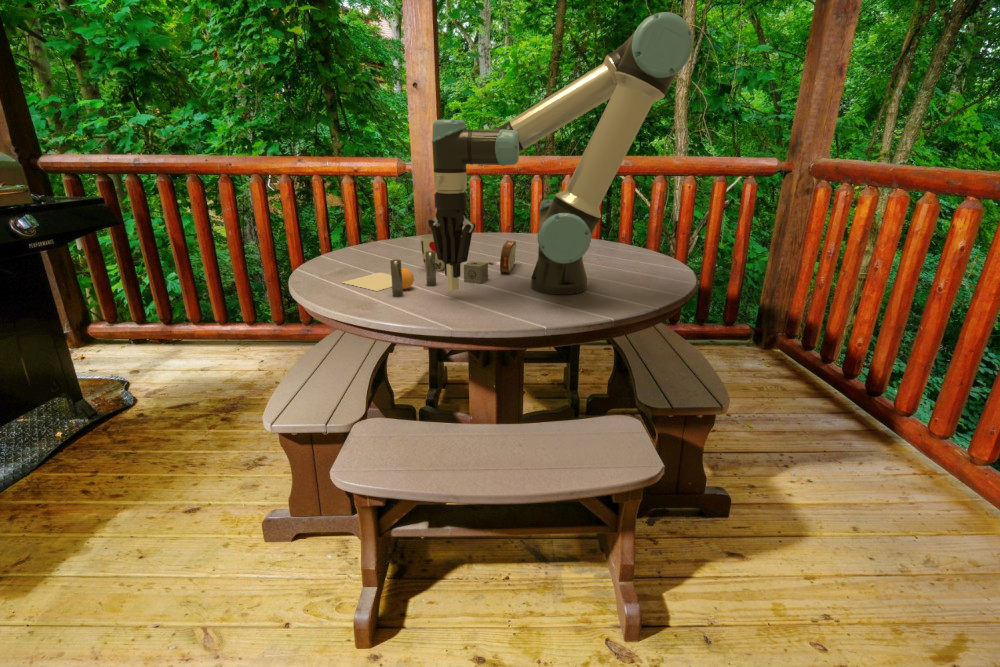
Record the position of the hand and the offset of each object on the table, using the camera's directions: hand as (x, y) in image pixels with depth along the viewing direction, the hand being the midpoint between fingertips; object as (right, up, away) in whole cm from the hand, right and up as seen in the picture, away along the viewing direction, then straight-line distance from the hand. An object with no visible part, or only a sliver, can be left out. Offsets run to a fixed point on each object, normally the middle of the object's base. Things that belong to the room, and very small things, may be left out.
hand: (453, 289), depth 131 cm
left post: (-14, -1, +3) cm, 15 cm away
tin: (+14, +8, +29) cm, 34 cm away
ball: (-14, +3, +8) cm, 16 cm away
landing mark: (-22, +3, +15) cm, 27 cm away
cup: (-8, +8, +29) cm, 31 cm away
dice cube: (+5, +4, +17) cm, 18 cm away
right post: (-7, +2, +13) cm, 15 cm away
